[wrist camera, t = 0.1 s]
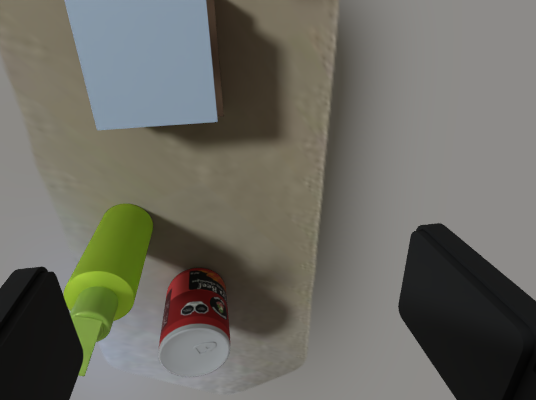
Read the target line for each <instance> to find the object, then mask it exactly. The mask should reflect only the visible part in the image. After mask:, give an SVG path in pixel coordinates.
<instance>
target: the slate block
mask: <svg viewBox="0 0 536 400" xmlns="http://www.w3.org/2000/svg"><path fill="white" fill-rule="evenodd" d="M65 4H66V8H67V12H68V16H69V20H70V24H71V28H72V32H73V36H74V40H75V44H76V48H77V52H78V56H79V60H80V64H81V68H82V72H83V76H84V80H85V84H86V88H87V92H88V96H89V100H90V104H91V108H92V112H93V116H94V120H95V124H96V128H97V130H108V129H122V128H137V127H151V126H166V125H180V124H195V123H209V122H218V120H217V110H216V99H215V89H214V78H213V67H212V57H211V46H210V36H209V25H208V15H207V4H206V0H65Z"/></svg>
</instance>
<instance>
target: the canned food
mask: <svg viewBox="0 0 536 400" xmlns="http://www.w3.org/2000/svg"><path fill="white" fill-rule="evenodd" d="M229 354H230V331H229V320H228V308H227V296H226V287H225V284H224V282H223V280H222V279H221V277H220V276H219V275H218V274H217V273H215V272H213V271H212V270H209V269H204V268H194V269H189V270H186V271H184V272H182V273H180V274H179V275H177V276H176V277H175V278H174V279H173V281H172V282H171V284H170V286H169V287H168V291H167V296H166V303H165V309H164V316H163V322H162V329H161V336H160V344H159V361H160V363H161V365H162V366H163V368H165V369H166V370H167V371H168V372H170V373H172V374H175V375H177V376H182V377H197V376H202V375H206V374H209V373H211V372H213V371H215V370H217V369H218V368H219V367H221V366H222V365H223V364H224V363H225V361H226V360H227V359H228V356H229Z"/></svg>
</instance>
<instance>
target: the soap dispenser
mask: <svg viewBox="0 0 536 400" xmlns="http://www.w3.org/2000/svg"><path fill="white" fill-rule="evenodd" d="M152 231H153V222H152V219H151V217H150V216H149V214H148V213H147V212H146V211H145V210H144V209H142V208H140V207H138V206H136V205H132V204H119V205H116V206H113V207H112V208H110V209H109V210H108V211H107V212H106V213H105V214H104V216H103V218H102V220H101V222H100V224H99V225H98V227H97V229H96V231H95V233H94V235H93V237H92V239H91V240H90V242H89V244H88V246H87V248H86V250H85V252H84V253H83V255H82V257H81V259H80V261H79V263H78V265H77V266H76V268H75V270H74V272H73V274H72V276H71V278H70V279H69V281H68V283H67V285H66V287H65V290H64V299H65V302H66V304H67V307H68V309H69V310H70V311H71V313H70V315H71V318H72V321H73V324H74V326H75V329H76V332H77V335H78V337H79V340H80V343H81V346H82V348H83V363H82V366H81V369H80V372H79V374H78V375H79V376H85V373H86V370H87V367H88V364H89V361H90V358H91V355H92V352H93V349H94V346H95V343H96V342H98V341H100V340H102V339H104V338H105V337H106V336H107V335H108V334H109V332H110V329H111V326H112V323H113V321H115V320H118V319H120V318H122V317H123V316H125V315H126V314H127V313H128V312H129V311H130V310H131V308H132V306H133V304H134V300H135V296H136V292H137V289H138V285H139V281H140V277H141V273H142V269H143V265H144V261H145V258H146V254H147V250H148V246H149V242H150V238H151V234H152Z"/></svg>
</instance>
